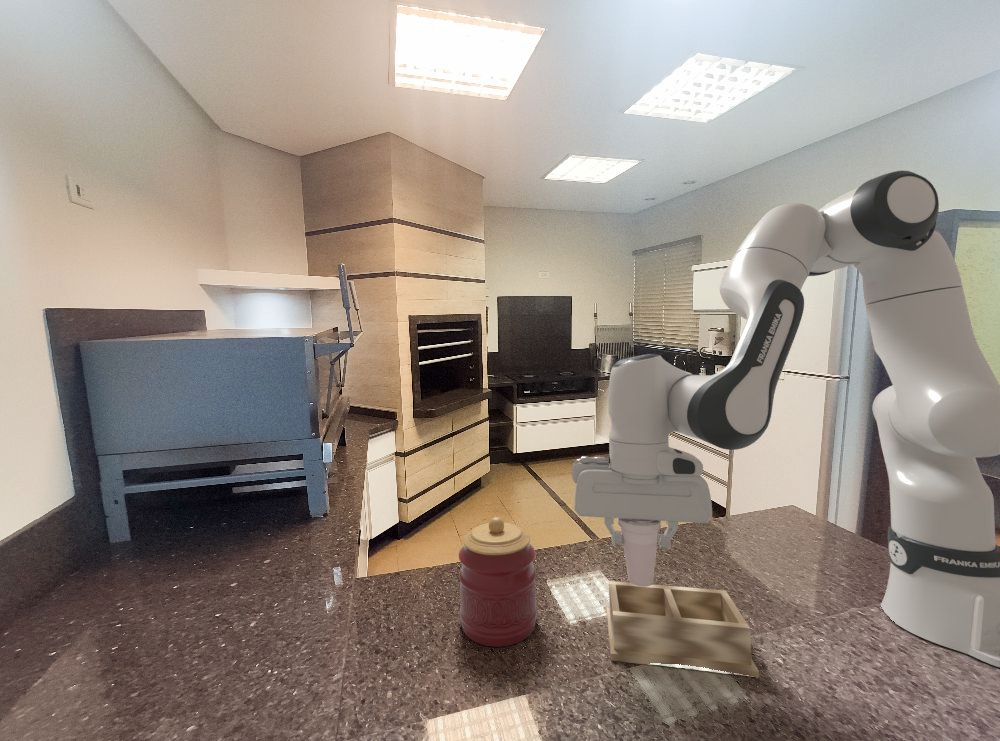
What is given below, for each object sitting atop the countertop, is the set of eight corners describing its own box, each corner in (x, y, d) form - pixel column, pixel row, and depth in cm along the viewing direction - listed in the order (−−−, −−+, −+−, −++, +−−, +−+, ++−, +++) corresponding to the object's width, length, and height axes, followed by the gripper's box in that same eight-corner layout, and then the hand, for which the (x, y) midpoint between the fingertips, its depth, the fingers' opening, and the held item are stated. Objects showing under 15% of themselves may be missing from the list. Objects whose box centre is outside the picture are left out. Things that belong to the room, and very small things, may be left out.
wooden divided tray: (727, 624, 64) (726, 587, 64) (759, 678, 53) (757, 633, 53) (606, 612, 68) (605, 577, 68) (611, 660, 57) (610, 618, 57)
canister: (462, 654, 59) (459, 536, 59) (458, 604, 72) (455, 507, 72) (546, 643, 61) (543, 529, 61) (527, 596, 74) (525, 502, 74)
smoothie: (666, 593, 58) (664, 498, 58) (621, 589, 59) (619, 496, 59) (658, 571, 64) (656, 486, 64) (617, 568, 65) (615, 484, 66)
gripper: (570, 460, 61) (572, 549, 61) (714, 464, 56) (717, 560, 56) (571, 452, 67) (573, 533, 67) (702, 455, 63) (703, 541, 63)
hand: (640, 545), depth 62 cm, fingers closed on smoothie, 6 cm apart
